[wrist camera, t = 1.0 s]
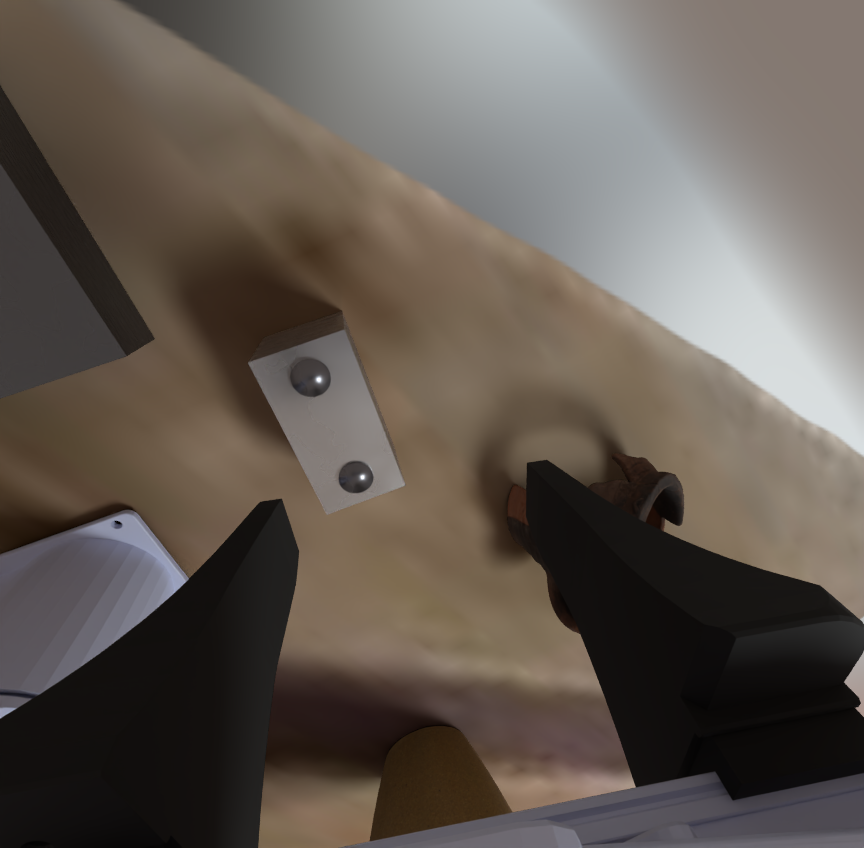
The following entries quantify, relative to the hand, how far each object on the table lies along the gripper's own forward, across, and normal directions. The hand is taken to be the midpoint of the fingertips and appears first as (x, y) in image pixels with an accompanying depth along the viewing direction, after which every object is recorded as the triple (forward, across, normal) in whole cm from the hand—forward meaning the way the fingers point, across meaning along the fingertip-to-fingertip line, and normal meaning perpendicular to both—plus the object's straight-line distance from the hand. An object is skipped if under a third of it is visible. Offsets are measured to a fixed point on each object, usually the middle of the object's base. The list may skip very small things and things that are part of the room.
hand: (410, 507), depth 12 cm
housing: (+11, +3, +1) cm, 12 cm away
